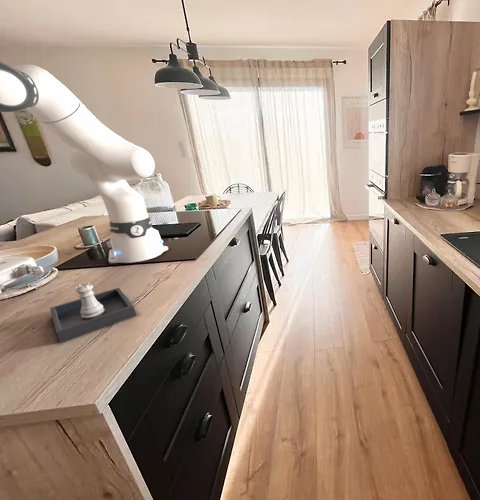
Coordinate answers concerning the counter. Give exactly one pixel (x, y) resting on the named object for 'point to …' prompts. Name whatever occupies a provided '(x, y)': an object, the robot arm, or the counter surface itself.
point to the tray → (75, 325)
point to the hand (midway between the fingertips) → (22, 279)
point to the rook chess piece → (89, 301)
